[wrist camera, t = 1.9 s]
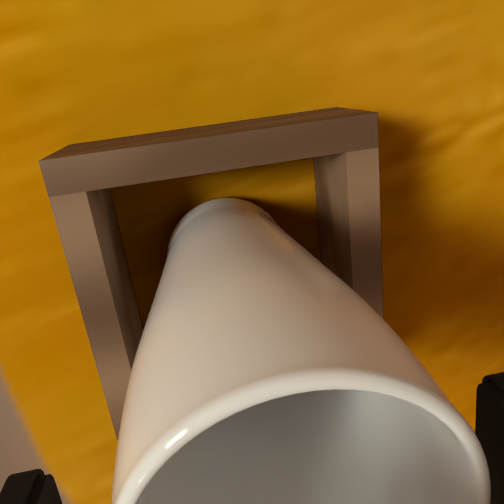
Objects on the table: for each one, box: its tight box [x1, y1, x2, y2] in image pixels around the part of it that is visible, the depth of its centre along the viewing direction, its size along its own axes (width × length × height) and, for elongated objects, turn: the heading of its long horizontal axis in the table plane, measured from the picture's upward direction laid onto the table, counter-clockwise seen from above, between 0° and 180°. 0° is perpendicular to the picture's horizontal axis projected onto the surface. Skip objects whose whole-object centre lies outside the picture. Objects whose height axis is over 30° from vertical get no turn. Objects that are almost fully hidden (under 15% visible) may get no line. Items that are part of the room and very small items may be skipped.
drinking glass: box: [111, 198, 491, 504], centre depth 15 cm, size 7×7×15 cm
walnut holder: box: [39, 107, 383, 440], centre depth 20 cm, size 11×11×4 cm
